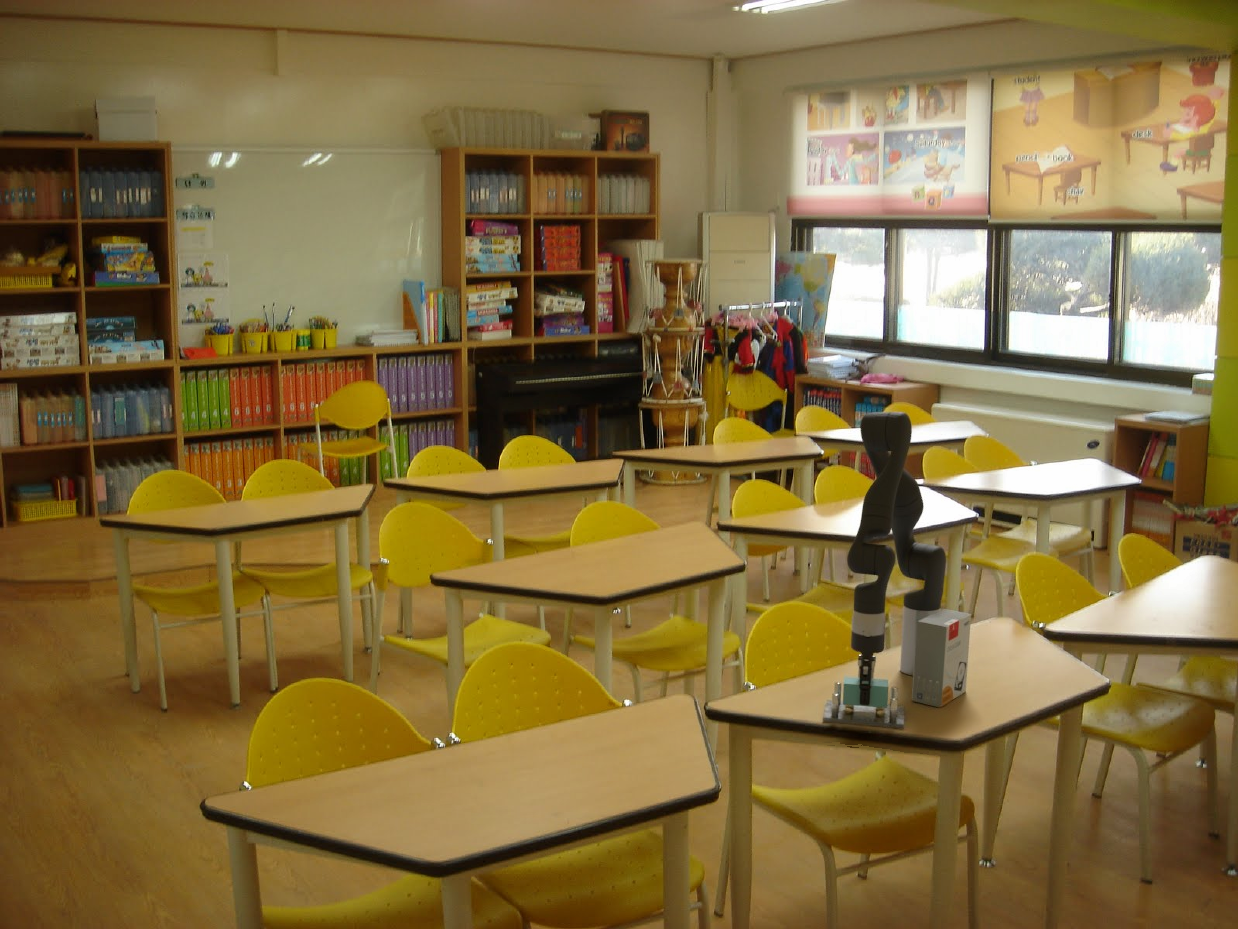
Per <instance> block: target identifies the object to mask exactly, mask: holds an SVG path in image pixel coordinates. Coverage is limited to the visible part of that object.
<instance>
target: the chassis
mask: <svg viewBox="0 0 1238 929" xmlns="http://www.w3.org/2000/svg"><path fill="white" fill-rule="evenodd" d="M842 686H843V684H842V682H840V681H835V682H834V690H833V693H832V696H831V699H827V700H826V704H825V707H824V713H823V718H822V722H823V723H835V724H846V725H858V726H870V727H879V728H889V729H890V728H891V729H901V730H904V728H905V713H906V710H905V709H906V706H903V705H898V700H899V687H897V686H891V688H890V689H891V690H890V701H889V704H887V708H883V707H869V706H856V705H843V700H842Z"/></svg>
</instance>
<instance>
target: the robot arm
mask: <svg viewBox="0 0 1238 929" xmlns="http://www.w3.org/2000/svg"><path fill="white" fill-rule="evenodd" d="M912 432H913V430H912V421H911V419H910V417H909V415H908V414H907V413H906V412H904V411H878V412H877V411H875V412H868V413H866V414H864V415H863V417H862V418H861V421H860V437H861V442H862V444H863V448H864V450H865V452H866V454H867V458H868V459H869V462H870V463H871V466H872V469H873V471H874V474H875V477H876V479H875V480H874V481H873V483H871V485H870V486H869V487H868V490H867V492H866V493H865V495H864V499H863V503H862V509H861V517H860V523H859V527H858V530H857V534H856V535H855V537H854V540H853V542H852V544H851V546H850V547H849V551H848V553H847V557H846V560H847V562H846V563H847V567H848V569H849V570H850V572H852V573H854V574H860V575H868V576H869V575H870V576H877V578H876V580H874V581H871V582H863V583H859V584H857V585H856V586H855V588H854V593H853V612H852V616H851V617H852V618H851V634H850V635H851V636H850V648H851V649H852V650H853V651H855V652H857V653H858V652H859V653H861V654H858V658H857V666H858V673H857V678H860V685H859V687H860V704H861V705H869V704H870V690H871V680H872V679H875V678H874V676H875V674H874V673H875V669H876V668H875V667H876V662H877V656H876V655H874V654H879V653H882V652H883V651H884V650H885V641H886V636H885V635H886V611H885V610H886V598H887V597H886V594H887V588H888V584H889V581H890V578H891V575H892V573H893V570H894V567H895V564H896V560H897V564H898V567H899V571H900V573H901V575H903V576H904V577H906V578H909V579H913V580H918V581H924V584H923V588H921V589H916V590H912V591H908V592H907V593H905V594H904V596H903V602H902V603H903V605H902V607H903V609H902V624H901V625H902V628H901V629H902V630H901V649H900V664H899V665H900V671H901V672H902V673H904V674H906V675H908V676H912V677H913V673H914V659H915V646H916V631H917V622H918V621H920V620H922V619H924V618H926V617H928V616H930V615H932V614H934V613H936V612H938V611H940V610H942V608H941V607H942V599H943V595H944V584H945V583H944V582H945V577H946V576H945V575H946V569H947V568H946V567H947V566H946V565H947V556H946V552H945V549H944V548H943V547H942V546H938V545H935V544H930V543H929V544H928V543H922V542H918V541H917V540H916V539H915V536H914V533H913V532H914V529H915V527H916V525H917V523H918V522H919V521H920V518H921V517H922V514H923V513H924V512H923V511H924V500H923V497H922V493H921V490H920V486H919V484H918V482H917V480H916V479H915V478H914V476H912V475H913V474H911V473H910V472H909V471H907V470H906V468H904V467H905V464H906V461H907V457H908V453H909V449H910V445H911V440H912V435H913V434H912ZM891 532H892V537H893V543H894V548H895V550H894V549H893V548H892V547H891V546H890V545H887V544H879V543H869V542H870V541H871V540H873V539H877V538H882V537H887V536H889V535H890V533H891ZM862 681H868V682H869V683H868V684H862Z"/></svg>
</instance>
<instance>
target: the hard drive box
mask: <svg viewBox="0 0 1238 929" xmlns="http://www.w3.org/2000/svg"><path fill="white" fill-rule="evenodd" d="M971 619H972V614H971V613H968V612H963V611H958V610H953V609H952V610H951V609H947V608H941V610H940V611H938V612H936V613H934V614H932V615H930V616H928V617H926V618H924V619H922V620H920V621H918V622H917V631H916V646H915V659H914V673H913V676H912V689H911V690H912V692H911V701H912V702H915V703H919V704H924V705H927V706H932V707H936V708H942V707H944V706H945V705H948V704H949V703H950V702H952V701H953V700H954V699H956V698H958V697H960V696H961V695H963V694H964V693H965V692H966V691H967V679H968V667H969V665H968V664H969V663H968V662H969V650H970V636H971V635H970V634H971V624H972V623H971V622H972V620H971Z"/></svg>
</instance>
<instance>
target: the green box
mask: <svg viewBox="0 0 1238 929" xmlns="http://www.w3.org/2000/svg"><path fill="white" fill-rule="evenodd" d="M868 683H869V682H868V681H862V684H868ZM859 685H860V678H859V677H858V676H856V677H855V676H853V677H852V676H843V691H842V692H843V694H842V701H843V705H856V706H869V707H883V708H887V705H888V703H889V702H888V701H889V679H882V678H873V679H872V680H871V690H870V704H869V705H861V704H860V687H859Z"/></svg>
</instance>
